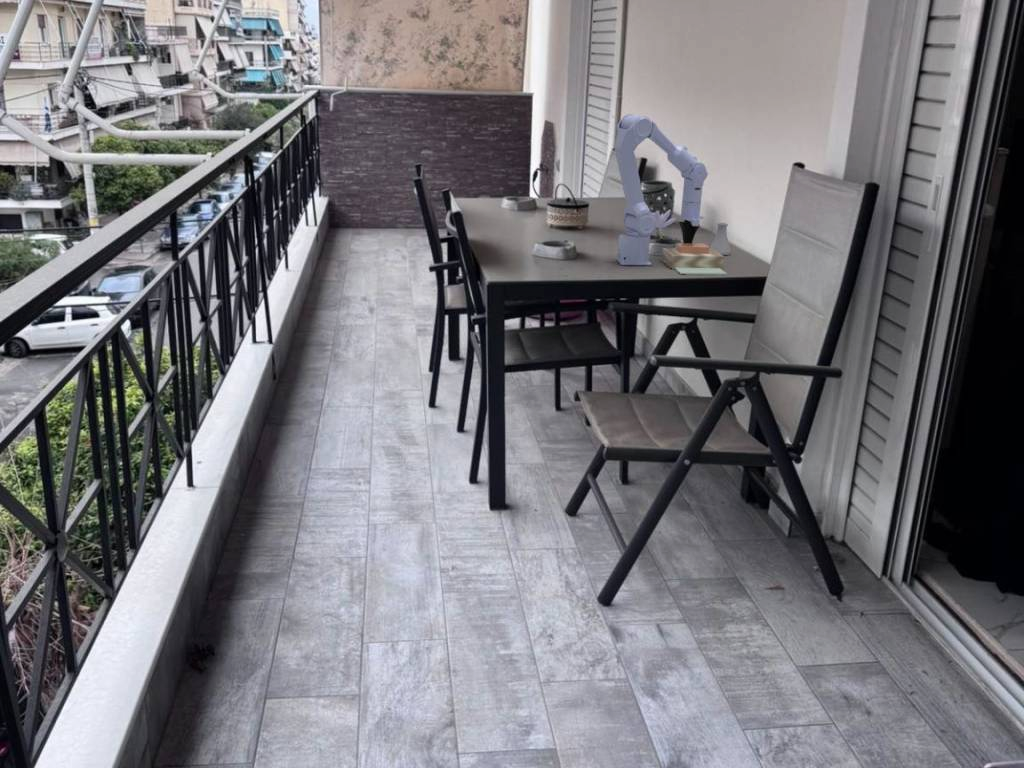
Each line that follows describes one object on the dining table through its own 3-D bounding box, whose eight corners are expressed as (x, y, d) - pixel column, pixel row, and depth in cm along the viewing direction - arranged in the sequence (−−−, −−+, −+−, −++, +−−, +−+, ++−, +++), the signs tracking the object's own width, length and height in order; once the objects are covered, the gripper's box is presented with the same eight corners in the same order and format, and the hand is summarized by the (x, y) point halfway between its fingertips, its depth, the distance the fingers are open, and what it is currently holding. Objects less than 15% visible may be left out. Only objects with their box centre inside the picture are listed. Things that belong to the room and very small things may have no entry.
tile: (680, 253, 280) (680, 246, 279) (675, 249, 285) (676, 243, 284) (709, 253, 280) (709, 247, 280) (703, 249, 286) (704, 243, 285)
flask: (720, 257, 296) (723, 226, 293) (703, 253, 302) (706, 222, 298) (735, 254, 300) (738, 224, 297) (718, 250, 306) (721, 220, 303)
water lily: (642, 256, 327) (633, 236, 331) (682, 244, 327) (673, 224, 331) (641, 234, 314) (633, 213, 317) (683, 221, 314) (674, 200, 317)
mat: (680, 274, 270) (680, 273, 270) (674, 269, 277) (674, 267, 277) (726, 275, 271) (727, 273, 271) (719, 269, 278) (719, 268, 278)
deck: (670, 269, 277) (672, 255, 275) (661, 260, 288) (662, 247, 287) (722, 269, 278) (724, 256, 277) (711, 261, 289) (713, 248, 288)
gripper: (710, 205, 277) (706, 249, 282) (697, 198, 291) (693, 240, 295) (687, 205, 276) (683, 249, 281) (676, 197, 290) (672, 240, 295)
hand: (687, 245), depth 288 cm, fingers closed
